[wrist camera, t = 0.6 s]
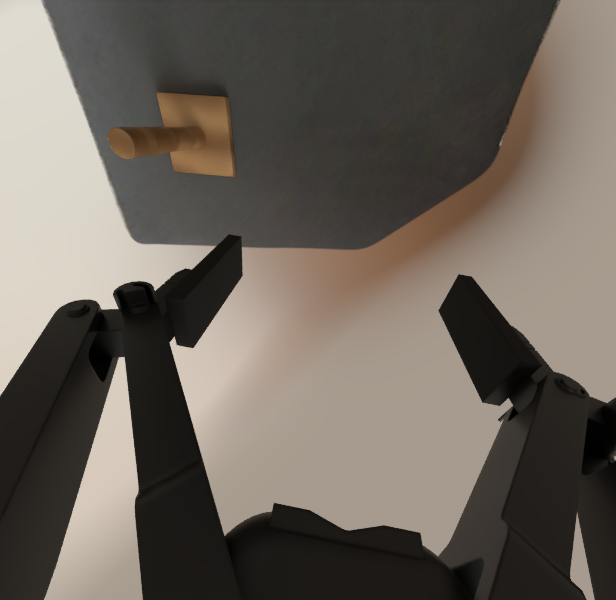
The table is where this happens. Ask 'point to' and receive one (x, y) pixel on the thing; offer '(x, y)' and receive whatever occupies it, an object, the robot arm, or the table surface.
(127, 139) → the peg stand
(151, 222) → the table surface
